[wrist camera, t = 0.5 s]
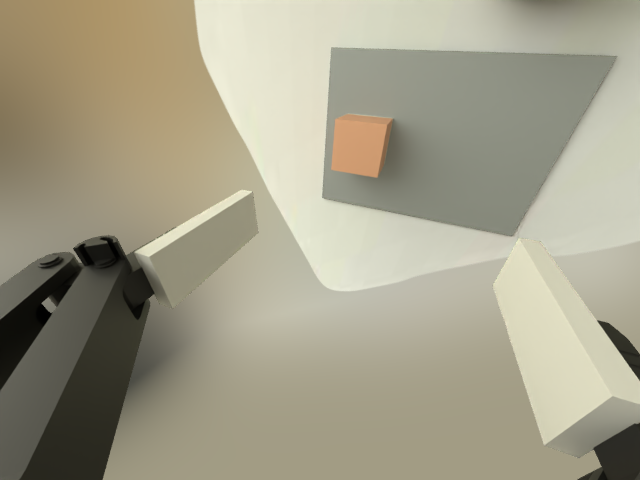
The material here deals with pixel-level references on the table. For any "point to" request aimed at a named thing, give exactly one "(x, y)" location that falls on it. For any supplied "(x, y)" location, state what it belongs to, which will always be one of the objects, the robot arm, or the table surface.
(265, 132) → the table surface
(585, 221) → the table surface
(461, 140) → the mat
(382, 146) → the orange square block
